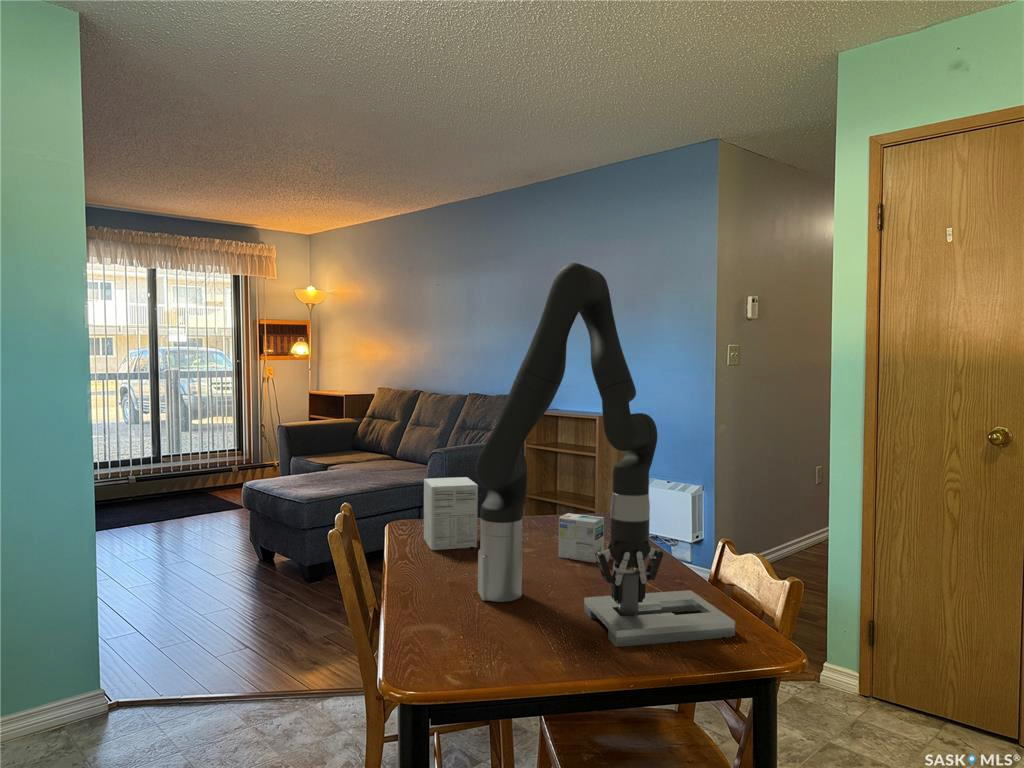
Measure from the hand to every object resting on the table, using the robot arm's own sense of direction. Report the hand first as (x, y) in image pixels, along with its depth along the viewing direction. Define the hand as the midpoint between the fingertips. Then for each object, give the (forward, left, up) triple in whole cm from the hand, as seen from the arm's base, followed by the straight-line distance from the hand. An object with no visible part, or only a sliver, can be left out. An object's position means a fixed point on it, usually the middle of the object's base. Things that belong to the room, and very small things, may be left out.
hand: (628, 601), depth 139 cm
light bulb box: (+6, +47, -5) cm, 48 cm away
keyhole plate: (+6, 0, -5) cm, 8 cm away
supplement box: (-26, +67, -5) cm, 72 cm away
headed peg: (0, 0, -5) cm, 5 cm away
